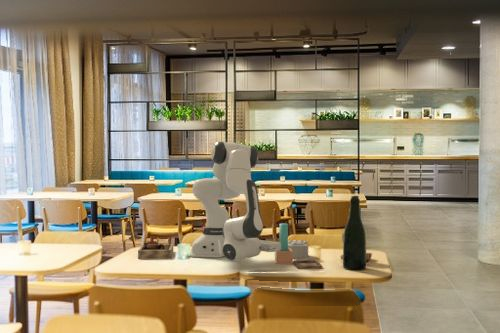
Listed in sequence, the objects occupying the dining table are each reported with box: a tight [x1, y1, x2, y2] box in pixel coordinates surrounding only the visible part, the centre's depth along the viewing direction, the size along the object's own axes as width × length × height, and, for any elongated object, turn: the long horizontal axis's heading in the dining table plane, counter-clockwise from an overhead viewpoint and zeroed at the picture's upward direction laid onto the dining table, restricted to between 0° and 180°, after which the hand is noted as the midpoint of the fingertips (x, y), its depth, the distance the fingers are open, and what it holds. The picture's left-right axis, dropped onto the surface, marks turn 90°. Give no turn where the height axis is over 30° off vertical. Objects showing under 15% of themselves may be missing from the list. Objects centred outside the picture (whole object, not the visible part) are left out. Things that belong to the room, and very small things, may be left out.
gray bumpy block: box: [288, 239, 309, 260], centre depth 307 cm, size 10×13×9 cm
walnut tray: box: [293, 259, 323, 270], centre depth 283 cm, size 11×14×2 cm
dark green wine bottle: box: [342, 195, 367, 271], centre depth 281 cm, size 10×10×33 cm
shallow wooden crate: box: [137, 243, 174, 260], centre depth 314 cm, size 16×18×4 cm
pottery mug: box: [143, 240, 165, 250], centre depth 313 cm, size 12×10×8 cm
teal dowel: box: [278, 223, 289, 251], centre depth 291 cm, size 4×4×18 cm
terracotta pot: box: [274, 249, 294, 265], centre depth 292 cm, size 8×8×6 cm
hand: (269, 242), depth 282 cm, fingers open, 8 cm apart
